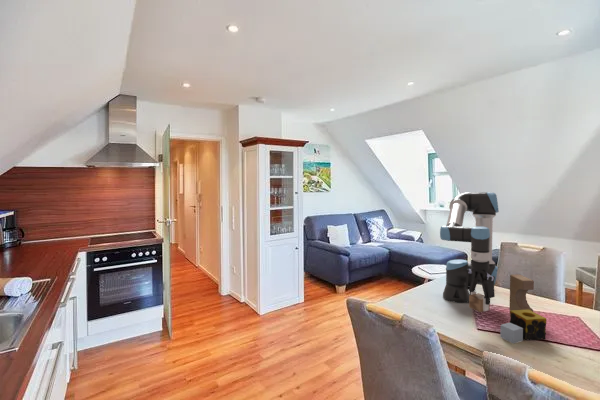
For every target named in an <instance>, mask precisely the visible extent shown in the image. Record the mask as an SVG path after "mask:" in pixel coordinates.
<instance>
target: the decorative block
mask: <svg viewBox="0 0 600 400" xmlns="http://www.w3.org/2000/svg"><path fill="white" fill-rule="evenodd" d="M534 282H535V281H534V279H533V280H532V279H531V278H529V277H526V276H524V275H522V274H520V273H518V274H510V277H509V311H510V310H527V309H528V310H531V311H533V312H534V309H533V308H532V307H530V305H529V303H528V300H527V292H528V291H533V290H534V289H535V288H534V287H535V285H534V284H535V283H534Z"/></svg>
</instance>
